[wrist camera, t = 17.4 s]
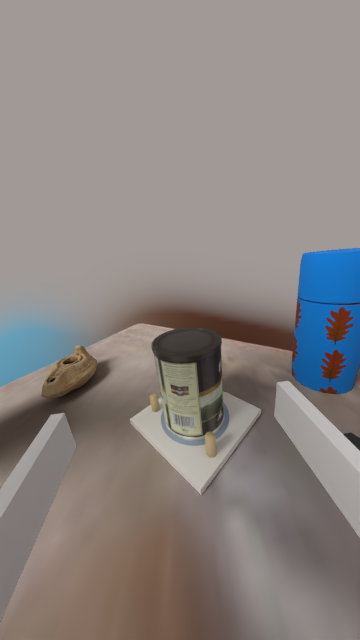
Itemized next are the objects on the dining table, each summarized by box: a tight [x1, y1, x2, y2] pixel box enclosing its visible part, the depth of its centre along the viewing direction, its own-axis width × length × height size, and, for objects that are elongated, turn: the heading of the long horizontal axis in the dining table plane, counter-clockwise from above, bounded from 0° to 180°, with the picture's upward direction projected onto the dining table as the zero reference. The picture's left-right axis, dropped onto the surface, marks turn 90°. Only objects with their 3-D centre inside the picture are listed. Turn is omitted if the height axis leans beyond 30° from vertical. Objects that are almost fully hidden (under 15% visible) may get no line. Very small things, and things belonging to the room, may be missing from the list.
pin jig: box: [130, 391, 261, 495], centre depth 33 cm, size 16×16×4 cm
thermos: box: [292, 248, 360, 394], centre depth 37 cm, size 11×11×25 cm
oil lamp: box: [42, 345, 97, 398], centre depth 46 cm, size 11×15×8 cm
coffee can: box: [152, 327, 224, 441], centre depth 31 cm, size 10×10×14 cm
